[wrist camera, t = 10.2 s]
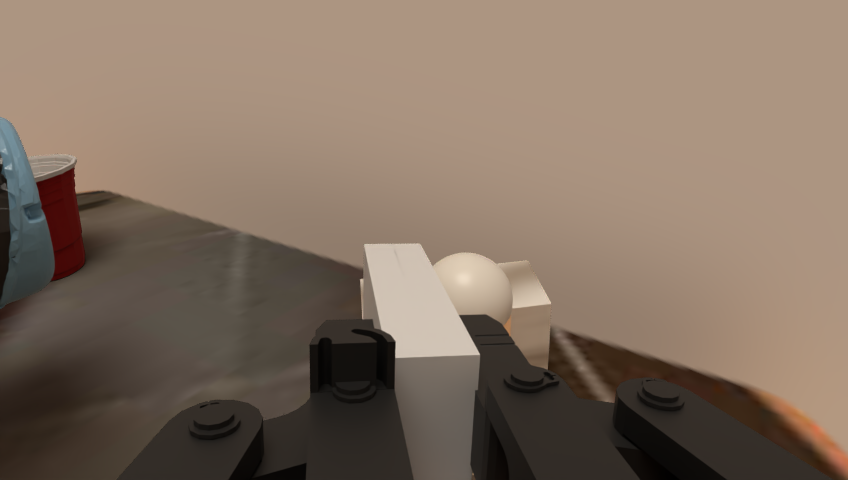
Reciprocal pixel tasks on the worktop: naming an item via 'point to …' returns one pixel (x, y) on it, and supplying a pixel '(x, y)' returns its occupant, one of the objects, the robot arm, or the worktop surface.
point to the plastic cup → (60, 210)
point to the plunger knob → (476, 286)
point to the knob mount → (525, 313)
